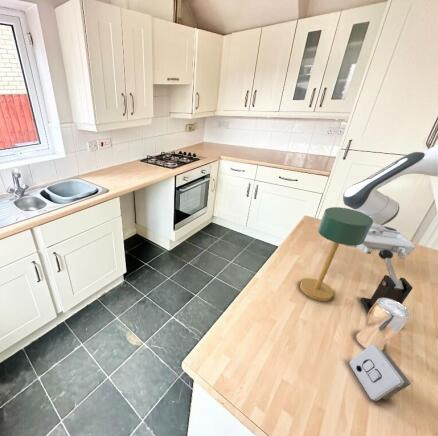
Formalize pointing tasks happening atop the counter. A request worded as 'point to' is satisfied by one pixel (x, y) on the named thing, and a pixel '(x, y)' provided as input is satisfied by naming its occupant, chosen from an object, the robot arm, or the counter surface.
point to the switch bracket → (388, 292)
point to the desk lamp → (336, 244)
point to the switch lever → (391, 268)
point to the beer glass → (382, 322)
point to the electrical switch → (378, 373)
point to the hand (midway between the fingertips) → (385, 254)
